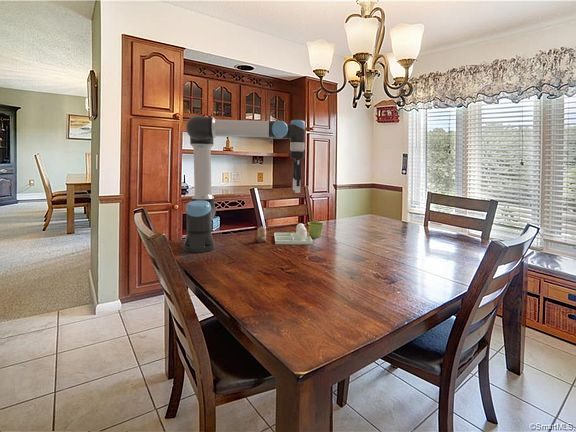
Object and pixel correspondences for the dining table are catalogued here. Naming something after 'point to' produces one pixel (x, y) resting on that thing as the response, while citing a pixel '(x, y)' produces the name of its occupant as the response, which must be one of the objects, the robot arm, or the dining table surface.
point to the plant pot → (315, 229)
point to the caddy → (290, 239)
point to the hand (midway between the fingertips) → (296, 191)
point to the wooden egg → (261, 234)
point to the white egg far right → (302, 234)
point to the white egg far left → (298, 228)
